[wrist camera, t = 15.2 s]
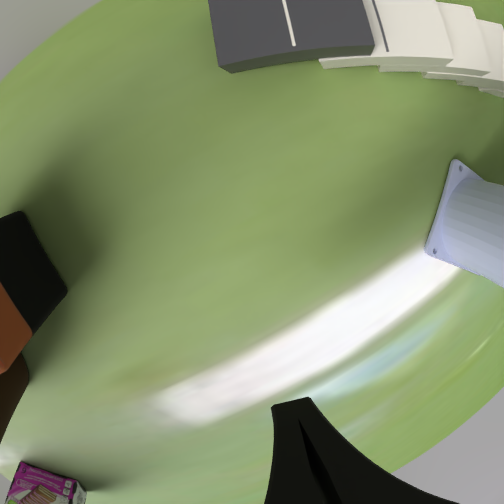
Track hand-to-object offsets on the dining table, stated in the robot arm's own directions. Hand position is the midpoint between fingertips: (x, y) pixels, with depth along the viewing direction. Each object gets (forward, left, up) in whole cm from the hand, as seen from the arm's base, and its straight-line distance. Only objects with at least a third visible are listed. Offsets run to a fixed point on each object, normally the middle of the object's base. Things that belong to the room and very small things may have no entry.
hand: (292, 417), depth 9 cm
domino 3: (-2, -19, -10) cm, 21 cm away
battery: (+16, +2, -11) cm, 19 cm away
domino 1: (+7, -15, -10) cm, 19 cm away
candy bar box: (+20, +39, -11) cm, 45 cm away
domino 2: (+1, -17, -10) cm, 20 cm away
